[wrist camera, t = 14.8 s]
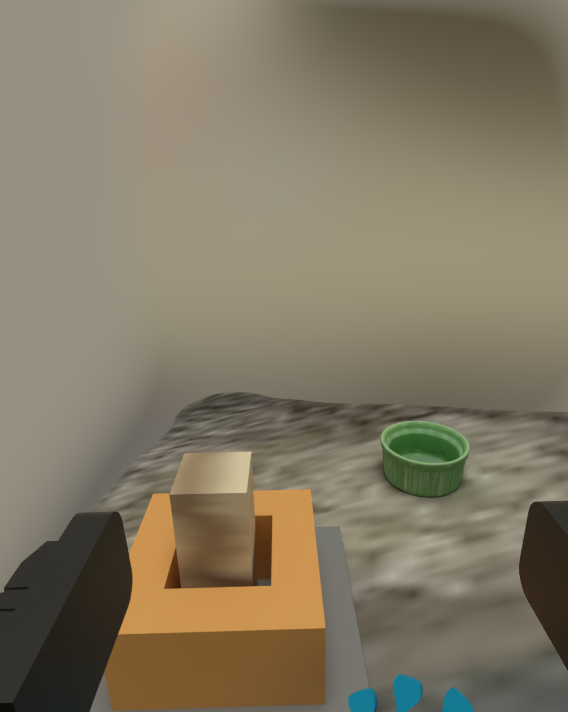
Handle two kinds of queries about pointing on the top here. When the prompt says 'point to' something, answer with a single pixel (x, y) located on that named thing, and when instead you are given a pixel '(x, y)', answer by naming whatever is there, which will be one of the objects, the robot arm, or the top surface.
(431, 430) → the ramekin
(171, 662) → the orange square frame
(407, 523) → the top surface
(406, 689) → the gear
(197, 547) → the tall wooden block
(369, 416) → the top surface
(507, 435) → the top surface
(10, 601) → the robot arm
